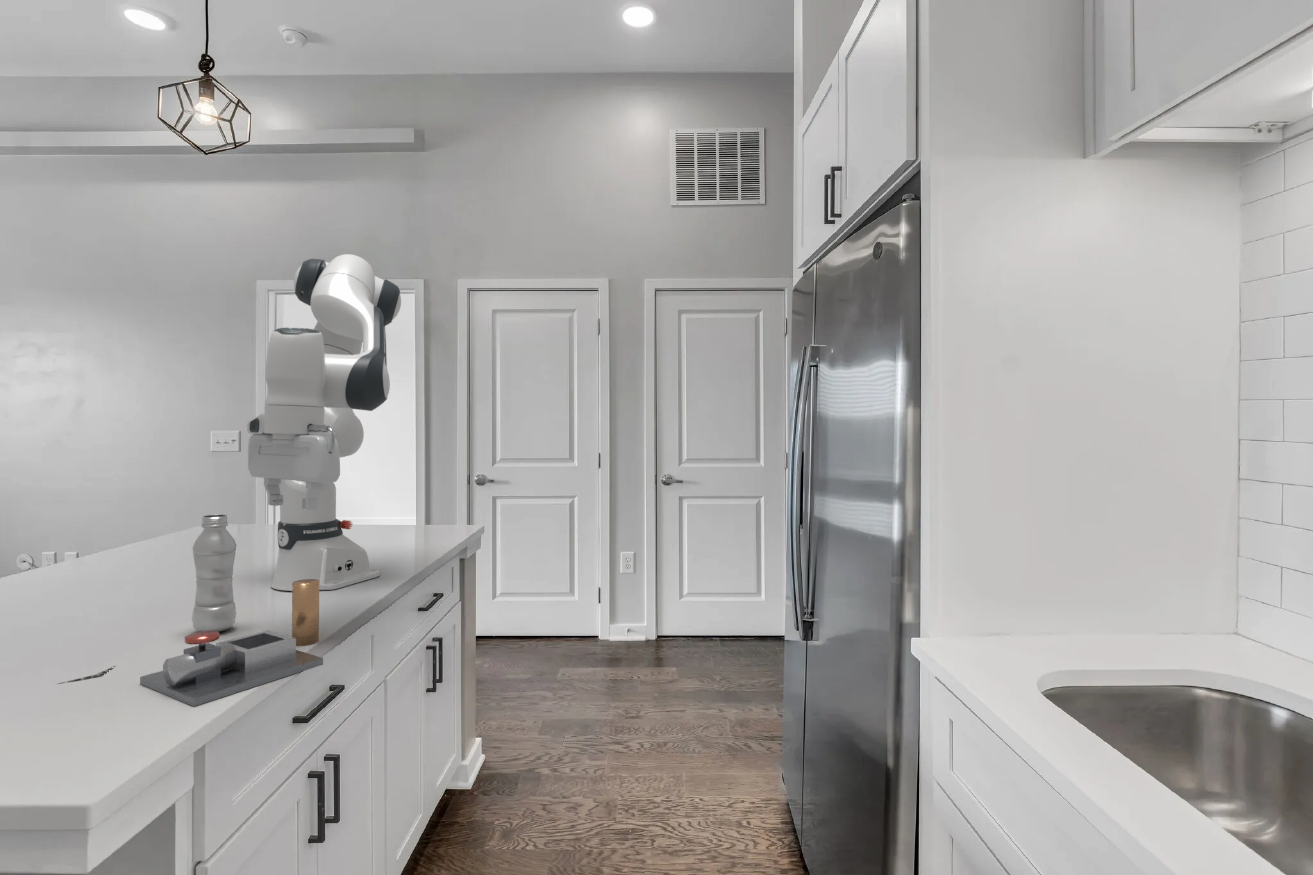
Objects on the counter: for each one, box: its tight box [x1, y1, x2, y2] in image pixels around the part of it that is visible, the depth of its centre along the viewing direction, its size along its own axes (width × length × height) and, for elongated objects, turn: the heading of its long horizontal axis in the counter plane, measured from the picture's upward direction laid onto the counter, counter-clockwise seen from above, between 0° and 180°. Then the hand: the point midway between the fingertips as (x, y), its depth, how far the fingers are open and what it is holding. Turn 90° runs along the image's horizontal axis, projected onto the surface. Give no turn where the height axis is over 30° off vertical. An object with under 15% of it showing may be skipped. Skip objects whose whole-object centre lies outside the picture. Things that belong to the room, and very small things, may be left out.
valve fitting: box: [139, 629, 324, 707], centre depth 99 cm, size 18×14×7 cm
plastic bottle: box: [191, 513, 237, 633], centre depth 118 cm, size 6×7×20 cm
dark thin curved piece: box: [56, 665, 117, 685], centre depth 98 cm, size 13×1×5 cm
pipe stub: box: [291, 579, 320, 647], centre depth 114 cm, size 4×4×10 cm
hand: (292, 507), depth 114 cm, fingers open, 8 cm apart
